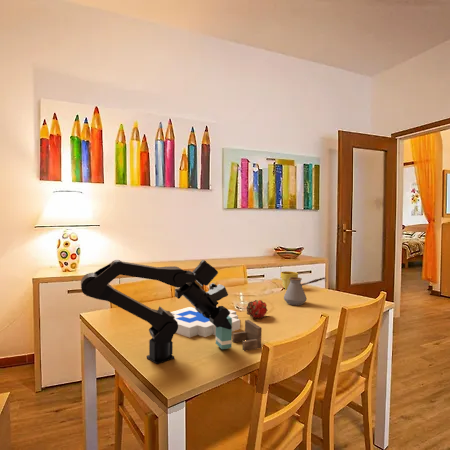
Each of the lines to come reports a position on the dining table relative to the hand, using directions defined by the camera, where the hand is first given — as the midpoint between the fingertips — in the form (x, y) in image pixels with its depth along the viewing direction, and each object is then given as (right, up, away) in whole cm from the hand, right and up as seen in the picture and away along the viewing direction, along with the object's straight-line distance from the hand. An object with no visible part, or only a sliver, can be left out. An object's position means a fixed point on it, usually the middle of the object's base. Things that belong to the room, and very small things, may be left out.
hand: (227, 325), depth 119 cm
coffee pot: (+39, -6, +56) cm, 68 cm away
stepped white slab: (-10, -7, +24) cm, 27 cm away
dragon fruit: (+13, -7, +35) cm, 38 cm away
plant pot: (+38, -4, +92) cm, 100 cm away
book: (-1, -7, 0) cm, 7 cm away
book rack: (+6, -8, +3) cm, 10 cm away
